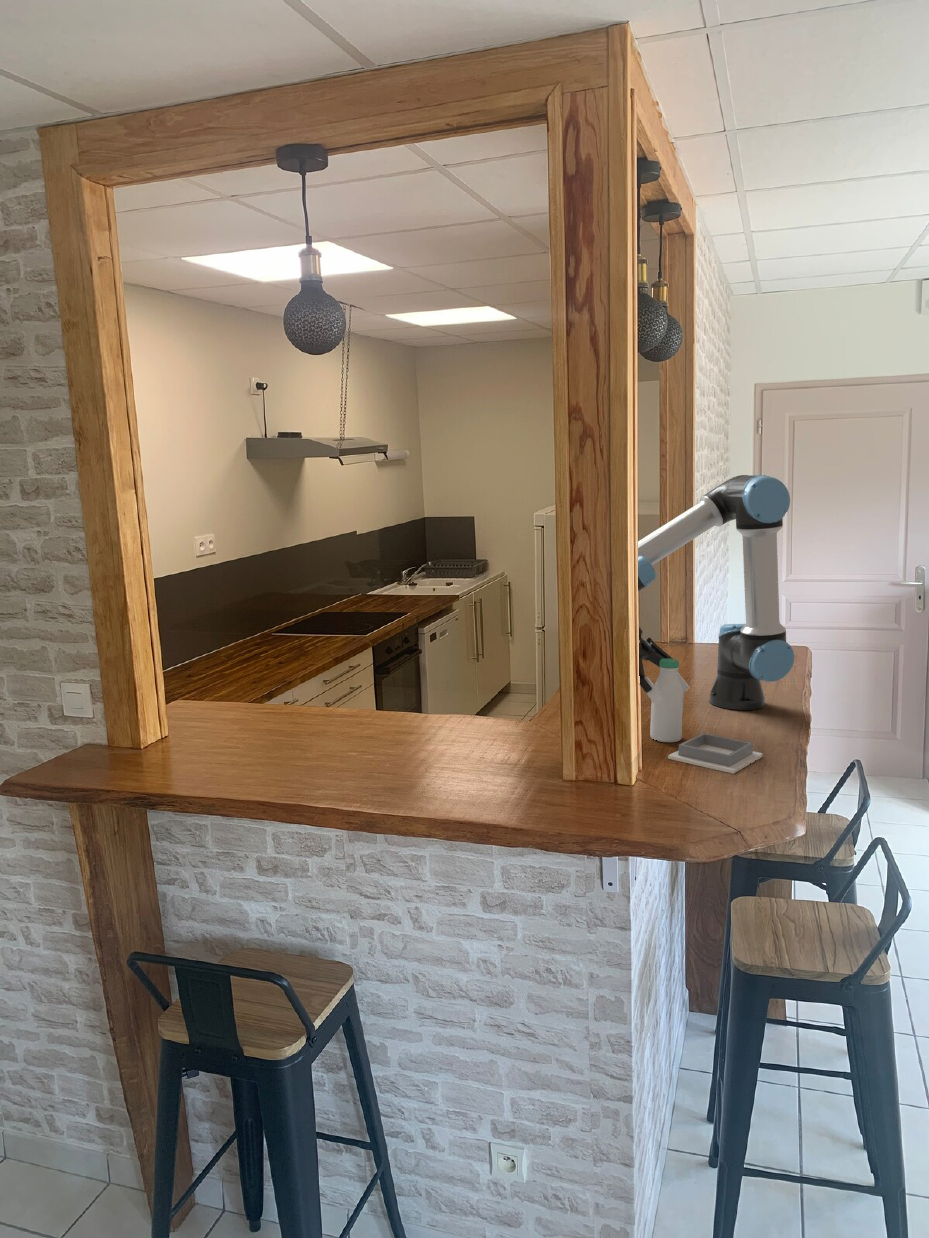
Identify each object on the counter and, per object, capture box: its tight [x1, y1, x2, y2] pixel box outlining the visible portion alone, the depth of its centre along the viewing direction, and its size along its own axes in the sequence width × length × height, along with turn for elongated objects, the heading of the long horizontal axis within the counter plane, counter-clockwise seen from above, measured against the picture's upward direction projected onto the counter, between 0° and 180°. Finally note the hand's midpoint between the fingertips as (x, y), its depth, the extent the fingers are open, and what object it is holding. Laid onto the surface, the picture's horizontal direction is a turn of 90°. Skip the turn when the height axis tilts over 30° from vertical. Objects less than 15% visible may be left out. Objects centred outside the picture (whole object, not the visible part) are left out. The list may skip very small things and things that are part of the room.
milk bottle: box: [649, 658, 684, 743], centre depth 229 cm, size 8×8×20 cm
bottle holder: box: [667, 732, 764, 775], centre depth 216 cm, size 16×16×3 cm
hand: (673, 696), depth 228 cm, fingers open, 13 cm apart
